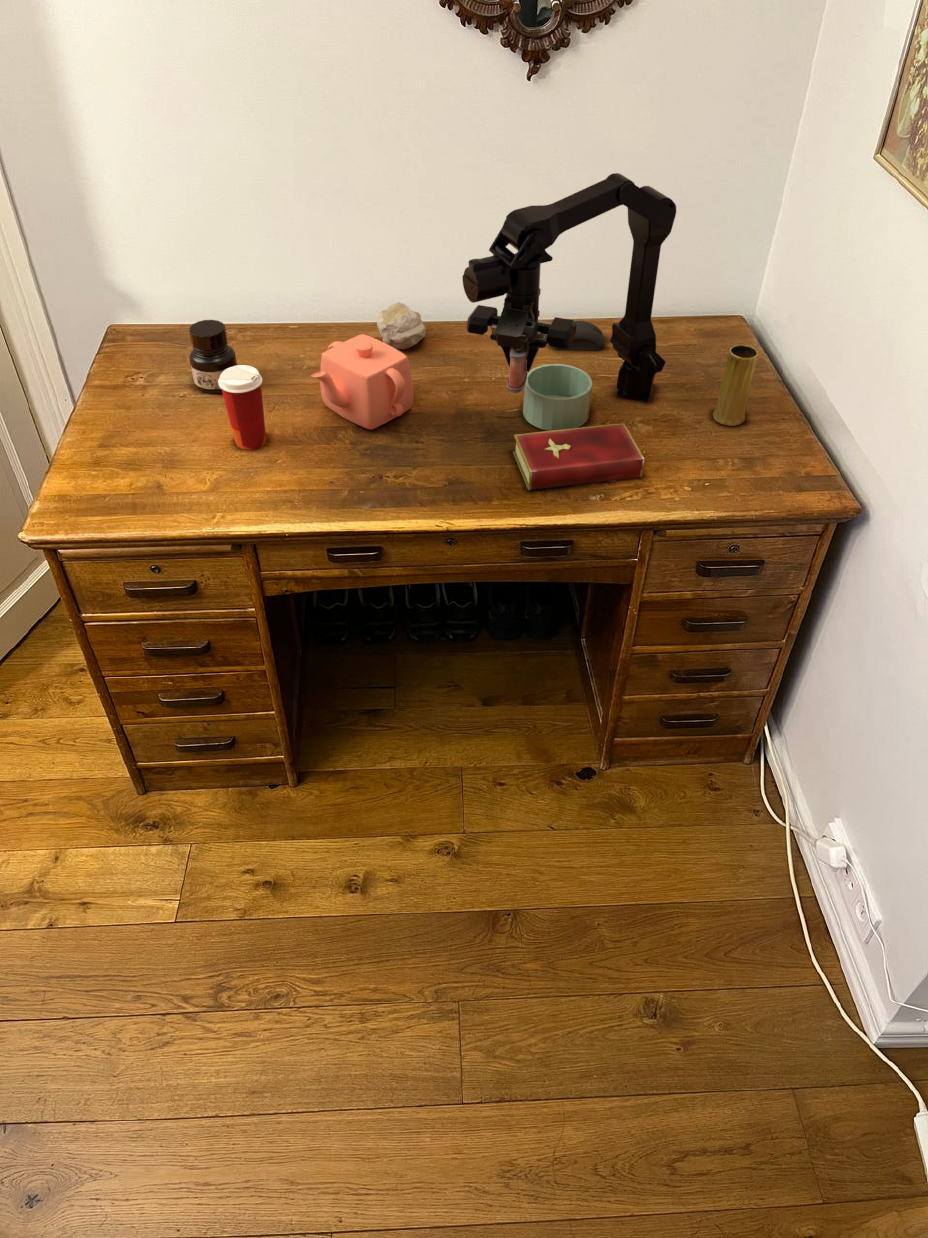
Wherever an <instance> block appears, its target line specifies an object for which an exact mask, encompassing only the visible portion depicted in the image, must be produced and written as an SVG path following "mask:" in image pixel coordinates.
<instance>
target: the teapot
mask: <svg viewBox="0 0 928 1238" xmlns="http://www.w3.org/2000/svg"><path fill="white" fill-rule="evenodd" d="M310 377H311V378H314V379H318V380H319V385H320V388H319V389H320V396H321V398H322V401H323V403H324V405H325V406H326V407H327V408H329V409H330V410H331V411H333V412H334V413H335V414H337V415H339V416H340V417H342V418H344V419H345V420H348V421H349V422H351V423H352V424H353V423H354V424H355V425H357V426H360V427H362V428H364V429H366V430H375V429H376V428H379V427H380V426H382V425H384V424H386V423H389V422H390V421H392V420H393V419H395V418H398V417H400V416H402V415H403V414H404V413H405V412H407V411H408V410H410V409H412V408H413V405H414V399H415V396H414V395H415V393H414V392H415V390H414V382H413V381H414V380H413V376H412V370H411V366H410V363H409V357H408V356H407V355H406V354H405V353H403V352H402V351H400V350H399V349H396V348H394V347H391V346H389V345H387V344H386V343H384V342H383V341H381V340H379V339H377V338H374V337H373V336H369V335H368V334H363V333H360V334H359V335H356V336H353V337H351V338H349V339H347V340H345V341H341V340H337V341H334V342H331V343H330V344H329V346H328V347H327V350H325V351H323V352H322V353H321V360H320V369H319V371H316V372H314V373H312V374H311V375H310Z"/></svg>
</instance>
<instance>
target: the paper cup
mask: <svg viewBox="0 0 928 1238" xmlns="http://www.w3.org/2000/svg"><path fill="white" fill-rule="evenodd" d="M218 382H219V386H220V388H221V389H222V397H223V400H224V404H225V408H226V412H227V416H228V419H229V424H230V427H231V431H232V435H233V438H234V439H233V440H234V443H235V445H236V446H237V447H238V448H239V449H242V450H246V451H250V450H256V449H259V448H261V447H262V446H263V445H265V443H266V440H267V438H266V425H265V424H266V423H265V412H264V402H263V401H264V400H263V391H262V390H263V389H262V383H263V377H262V375H261V374H260V372H259V370H258V369H257V368H255V367H254V366H251V365H247V364H237V366H233V367H230V368H227V369H226V370H224V371H223V372H222V374H221V375H220V378H219V380H218Z"/></svg>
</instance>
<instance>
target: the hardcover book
mask: <svg viewBox="0 0 928 1238" xmlns="http://www.w3.org/2000/svg"><path fill="white" fill-rule="evenodd" d="M513 438H514V441H515V450H512V454H513V456H514V459H515V462H516V463H517V466H518V468H519V471H520V473H521V476H522V479H523V481H524V483H525V486H526V488H527V490H528V491H532V490H533V491H534V490H540V489H550V488H558V487H566V486H575V485H584V484H591V483H602V482H609V481H619V480H627V479H634V478H636V479H637V478H642V477H643V474H644V470H645V463H646V460H645V457H644V455H643V453H642V451H641V450H640V448H639V447H638V445H637V443H636V441H635V439H634V438H633V436H632V434H631V432H630V431H629V429H628V427H627V425H626V423H625V422H621V423H620V422H619V423H611V424H610V423H609V424H601V425H591V426H580V427H578V428H572V429H562V430H553V431H548V430H543V431H536V432H527V433H526V432H525V433H518V434H513Z"/></svg>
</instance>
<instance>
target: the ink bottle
mask: <svg viewBox="0 0 928 1238" xmlns="http://www.w3.org/2000/svg"><path fill="white" fill-rule="evenodd" d="M188 332H189V336H190V342H191V346H192V348H193V349H191V351H190V353H189V355H188V356H189V359H188V360H189V364H190V369H191V374H192V380H193V383H194V386H195V388H197V389H198V390H199V391H201V392H204V393H207V394H208V393H209V394H221V393H222V394H223V392H222V389H221V388H220V386H219V382H218V380H219V378H220V375H221V374H222V372H223V371H224V370H226V369H227V368H230V367H233V366H237V365H238V362H237V356H236V355H237V354H236V350H234V348H233V347H232V346H231V345H230V344H228V341H229V340H228V337H227V329H226V325H225V324H224V322H222V321H219V320H215V319H203V320H199V321H196V322H194V323H192V324H191V325H190V327H189V330H188Z"/></svg>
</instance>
